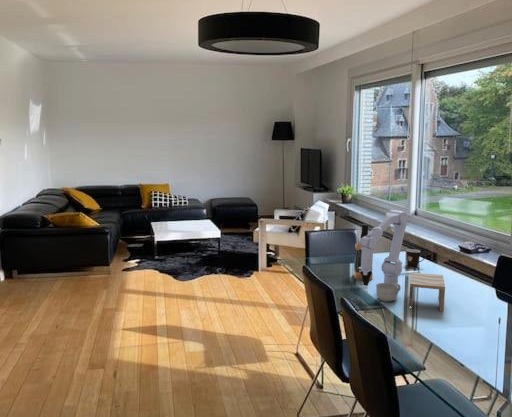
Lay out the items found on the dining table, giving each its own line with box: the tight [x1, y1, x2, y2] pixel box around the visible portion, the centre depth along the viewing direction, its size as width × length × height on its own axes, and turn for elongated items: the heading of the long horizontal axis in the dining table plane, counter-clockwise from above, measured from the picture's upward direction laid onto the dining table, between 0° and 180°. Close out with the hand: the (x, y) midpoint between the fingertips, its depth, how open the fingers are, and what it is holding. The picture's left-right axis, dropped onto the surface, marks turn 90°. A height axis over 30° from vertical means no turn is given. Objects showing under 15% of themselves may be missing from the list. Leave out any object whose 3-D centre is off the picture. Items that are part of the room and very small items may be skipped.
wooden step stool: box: [408, 272, 446, 313], centre depth 261 cm, size 22×16×12 cm
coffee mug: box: [406, 248, 425, 268], centre depth 334 cm, size 12×9×10 cm
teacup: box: [375, 282, 402, 302], centre depth 267 cm, size 14×11×8 cm
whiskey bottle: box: [352, 223, 375, 281], centre depth 306 cm, size 10×10×32 cm
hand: (365, 285), depth 270 cm, fingers closed
